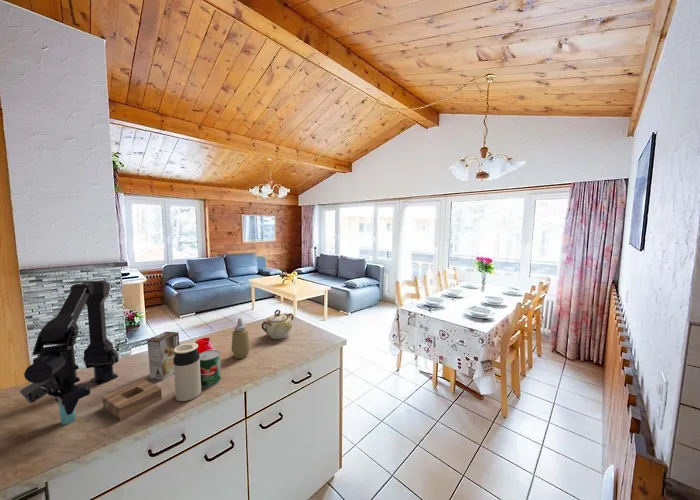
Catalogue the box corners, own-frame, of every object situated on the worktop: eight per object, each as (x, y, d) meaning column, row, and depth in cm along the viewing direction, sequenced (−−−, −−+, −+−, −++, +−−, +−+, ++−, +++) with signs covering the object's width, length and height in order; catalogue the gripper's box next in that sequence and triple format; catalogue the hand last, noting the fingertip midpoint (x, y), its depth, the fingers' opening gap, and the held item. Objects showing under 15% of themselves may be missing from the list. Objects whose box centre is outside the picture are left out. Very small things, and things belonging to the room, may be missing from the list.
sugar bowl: (269, 346, 138) (269, 317, 136) (254, 337, 148) (254, 310, 146) (301, 334, 152) (301, 308, 151) (286, 327, 162) (285, 302, 161)
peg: (59, 422, 85) (56, 395, 84) (73, 416, 88) (70, 390, 87) (63, 426, 84) (60, 398, 83) (77, 419, 87) (74, 393, 86)
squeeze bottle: (227, 358, 126) (226, 320, 124) (240, 350, 133) (239, 314, 131) (241, 361, 123) (240, 322, 121) (254, 353, 130) (252, 316, 128)
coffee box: (168, 366, 118) (166, 330, 117) (181, 368, 117) (179, 332, 115) (149, 378, 109) (146, 339, 108) (163, 380, 108) (160, 341, 106)
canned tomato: (217, 373, 113) (215, 348, 112) (224, 381, 108) (223, 354, 107) (195, 381, 108) (194, 354, 107) (202, 390, 102) (200, 362, 101)
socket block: (103, 408, 92) (102, 396, 92) (143, 388, 103) (143, 378, 102) (120, 420, 86) (119, 408, 86) (161, 398, 97) (161, 388, 97)
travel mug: (183, 404, 94) (180, 354, 92) (171, 396, 98) (168, 348, 96) (205, 392, 101) (203, 345, 99) (193, 385, 105) (191, 340, 103)
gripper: (11, 369, 81) (18, 418, 83) (33, 387, 73) (40, 442, 74) (64, 353, 91) (68, 397, 93) (88, 368, 82) (93, 416, 84)
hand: (67, 412), depth 86 cm, fingers closed on peg, 3 cm apart
